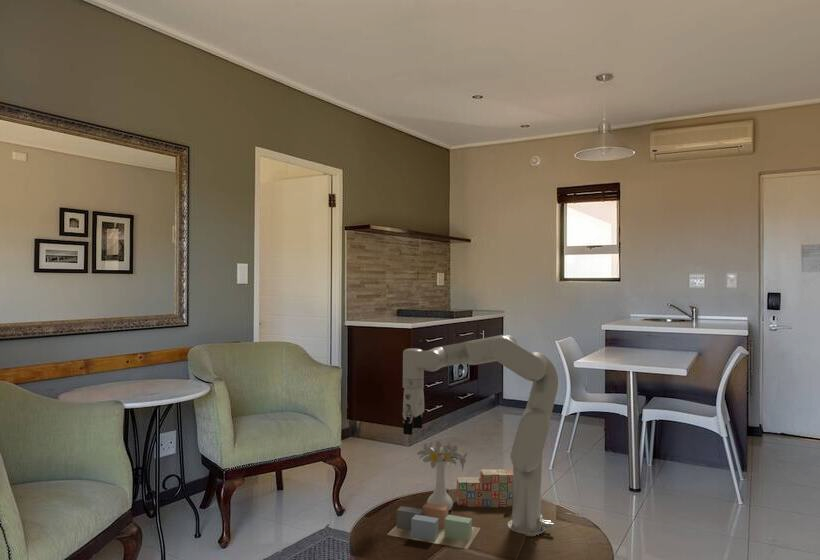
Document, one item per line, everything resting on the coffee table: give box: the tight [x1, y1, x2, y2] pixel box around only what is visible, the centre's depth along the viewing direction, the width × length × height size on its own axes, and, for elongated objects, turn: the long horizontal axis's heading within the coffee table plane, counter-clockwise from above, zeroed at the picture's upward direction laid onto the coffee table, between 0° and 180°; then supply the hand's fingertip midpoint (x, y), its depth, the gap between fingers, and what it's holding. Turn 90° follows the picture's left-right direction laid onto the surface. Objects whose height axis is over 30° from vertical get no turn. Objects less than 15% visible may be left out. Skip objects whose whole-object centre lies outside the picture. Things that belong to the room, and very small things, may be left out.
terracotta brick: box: [422, 502, 450, 528], centre depth 203 cm, size 8×4×6 cm, turn 70°
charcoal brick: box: [396, 505, 423, 530], centre depth 200 cm, size 8×4×6 cm, turn 70°
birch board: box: [386, 524, 481, 550], centre depth 197 cm, size 27×17×1 cm, turn 70°
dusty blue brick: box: [411, 515, 439, 542], centre depth 193 cm, size 8×4×6 cm, turn 70°
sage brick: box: [444, 514, 473, 542], centre depth 193 cm, size 8×4×6 cm, turn 70°
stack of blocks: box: [455, 468, 513, 508], centre depth 225 cm, size 21×6×12 cm, turn 92°
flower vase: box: [417, 440, 469, 511], centre depth 216 cm, size 13×18×25 cm
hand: (412, 431), depth 214 cm, fingers open, 9 cm apart
